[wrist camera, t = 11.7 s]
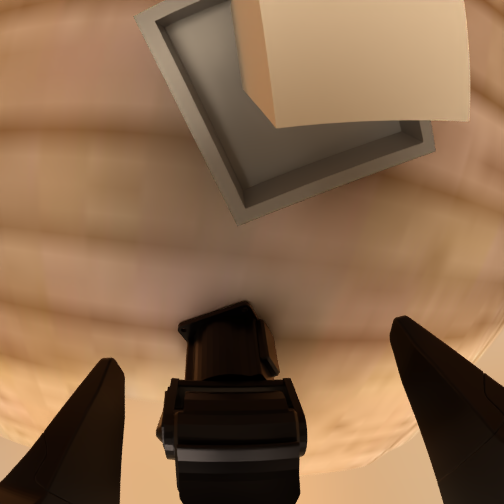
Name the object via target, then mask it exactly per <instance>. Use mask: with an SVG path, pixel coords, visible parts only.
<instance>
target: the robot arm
mask: <svg viewBox="0 0 504 504" xmlns="http://www.w3.org/2000/svg"><path fill="white" fill-rule="evenodd" d="M243 307H246V308H245V309H244V308H243ZM183 328H185V329H183ZM178 331H179V333H180V334H181V335H182V336H183V338H184V339H185V340H186V341H187V354H186V369H185V380H179V379H177V378H172V379H171V384H170V387H168V390H167V391H165V399H164V408H163V412H162V415H161V418H160V420H159V423H158V426H157V430H156V436H157V437H158V439H159V440H160V441H161V442H162V443H163V447H164V449H165V453H166V457H167V459H172V460H175V464H176V478H177V488H178V491H179V496H180V500H181V501H182V503H183V504H295V503H296V502H297V500H298V498H299V495H300V482H299V457H301V456H303V455H304V454H305V452H306V447H307V425H306V419H305V415H304V412H303V409H302V407H301V404H300V402H299V399H298V396H297V394H296V391H295V389H294V386H293V383H292V381H291V378H283V380H274V377H275V376H278V374H279V373H280V371H279V365H278V360H277V354H276V349H275V343H274V338H273V336H272V334H271V332H270V330H269V329H268V327H267V325H266V323H265V322H264V320H262V319H258V317H257V315H256V313H255V312H254V310H253V308H252V306H251V305H250V303H248V302H240V303H238V304H235V305H232V306H229V307H226V308H224V309H221V310H218V311H215V312H212V313H209V314H206V315H203V316H200V317H198V318H195V319H192V320H189V321H186V322H183V323H180V324H179V325H178ZM390 343H391V346H392V350H393V353H394V356H395V360H396V363H397V367H398V371H399V374H400V378H401V381H402V384H403V386H404V389H405V391H406V394H407V397H408V399H409V402H410V404H411V407H412V410H413V412H414V415H415V418H416V420H417V423H418V426H419V429H420V431H421V434H422V437H423V440H424V443H425V445H426V449H427V451H428V454H429V457H430V460H431V463H432V467H433V470H434V473H435V476H436V479H437V481H438V486H439V489H440V493H441V496H442V500H443V503H444V504H504V387H503V386H502V385H500V384H499V383H497V382H496V381H495V380H493V379H492V378H491V377H489V376H488V375H487V374H485V373H484V374H483V371H481V370H480V369H479V368H477V367H476V366H475V365H473V364H472V363H471V362H469V361H468V360H467V359H465V358H464V357H463V356H461V355H460V354H459V353H457V352H456V351H455V350H453V349H452V348H451V347H449V346H448V345H447V344H445V343H444V342H443V341H441V340H440V339H438V338H437V337H436V336H434V335H433V334H432V333H430V332H429V331H427V330H426V329H425V328H423V327H422V326H420V325H419V324H418V323H416V322H415V321H414V320H412V319H411V318H409V317H408V316H400V317H396V318H395V319H394V320H393V324H392V328H391V331H390ZM124 420H125V377H124V373H123V371H122V370H121V368H120V367H119V365H118V364H117V362H116V360H115V359H114V358H102V359H101V360H100V361H99V362H98V363H97V364H96V366H95V367H94V368H93V369H92V371H91V372H90V373H89V374H88V376H87V377H86V378H85V379H84V381H83V382H82V383H81V384H80V386H79V387H78V388H77V389H76V391H75V392H74V393H73V394H72V396H71V397H70V398H69V400H68V401H67V402H66V403H65V405H64V406H63V407H62V408H61V410H60V411H59V412H58V414H57V415H56V416H55V418H54V419H53V420H52V421H51V423H50V424H49V425H48V427H47V428H46V429H45V431H44V433H42V435H41V436H40V437H39V439H38V440H37V441H36V442H35V444H34V445H33V446H32V448H31V449H30V450H29V451H28V452H27V454H26V455H25V456H24V457H23V458H22V459H21V460H20V462H19V463H18V464H17V465H16V466H15V467H14V468H13V469H12V471H11V472H10V473H9V474H8V475H7V476H6V477H5V478H4V479H3V480H2V481H1V482H0V504H120V478H121V460H122V444H123V432H124Z"/></svg>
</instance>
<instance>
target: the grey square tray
mask: <svg viewBox="0 0 504 504" xmlns="http://www.w3.org/2000/svg"><path fill="white" fill-rule="evenodd" d="M230 6H231V0H165V1H163V2H161V3H158V4H156V5H154V6H152V7H150V8H148V9H147V10H145V11H143V12H141V13H139V14H137V15H135V16H133V17H134V19H135V21H136V23H137V25H138V27H139V29H140V31H141V33H142V35H143V37H144V39H145V41H146V43H147V45H148V47H149V49H150V51H151V53H152V55H153V57H154V59H155V61H156V63H157V65H158V67H159V69H160V71H161V73H162V75H163V77H164V79H165V81H166V83H167V85H168V87H169V89H170V91H171V93H172V95H173V97H174V100H175V102H176V104H177V106H178V108H179V110H180V112H181V114H182V116H183V118H184V120H185V122H186V124H187V126H188V128H189V130H190V132H191V134H192V136H193V138H194V140H195V142H196V144H197V146H198V148H199V150H200V152H201V154H202V156H203V158H204V160H205V162H206V164H207V166H208V168H209V170H210V172H211V174H212V176H213V178H214V180H215V182H216V184H217V186H218V188H219V190H220V192H221V194H222V196H223V198H224V200H225V202H226V204H227V206H228V208H229V210H230V212H231V214H232V216H233V218H234V220H235V222H236V224H237V226H240V225H242V224H245V223H247V222H250V221H252V220H255V219H257V218H260V217H262V216H265V215H267V214H270V213H272V212H275V211H277V210H280V209H282V208H285V207H287V206H290V205H293V204H295V203H298V202H300V201H303V200H305V199H308V198H311V197H313V196H316V195H318V194H321V193H324V192H326V191H329V190H331V189H334V188H337V187H339V186H342V185H345V184H347V183H350V182H353V181H355V180H358V179H361V178H363V177H366V176H369V175H371V174H374V173H377V172H379V171H382V170H385V169H388V168H390V167H393V166H396V165H399V164H401V163H404V162H407V161H410V160H413V159H415V158H418V157H421V156H424V155H427V154H429V153H432V152H435V151H436V149H435V143H434V136H433V131H432V125H431V120H388V121H359V122H342V123H327V124H315V125H304V126H294V127H285V128H275V126H274V125H273V124H272V123H271V122H270V120H269V119H268V118H267V117H266V116H265V114H264V113H263V112H262V111H261V110H260V108H259V107H258V106H257V105H256V104H255V103H254V101H253V100H252V99H251V98H250V97H249V96H248V95H247V93H246V92H245V91H244V90H243V88H242V81H241V74H240V67H239V61H238V54H237V47H236V41H235V34H234V28H233V21H232V15H231V8H230Z"/></svg>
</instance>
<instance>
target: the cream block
mask: <svg viewBox="0 0 504 504" xmlns="http://www.w3.org/2000/svg"><path fill="white" fill-rule="evenodd" d="M230 8H231V15H232V21H233V28H234V34H235V41H236V47H237V54H238V61H239V67H240V74H241V81H242V88H243V90H244V91H245V92H246V93H247V95H248V96H249V97H250V98H251V99H252V100H253V101H254V103H255V104H256V105H257V106H258V107H259V108H260V110H261V111H262V112H263V113H264V114H265V116H266V117H267V118H268V119H269V120H270V122H271V123H272V124H273V125H274V126H275V128H285V127H294V126H304V125H315V124H327V123H342V122H359V121H388V120H434V121H462V122H469V119H470V59H469V42H468V31H467V21H466V13H465V5H464V0H231V6H230Z"/></svg>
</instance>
